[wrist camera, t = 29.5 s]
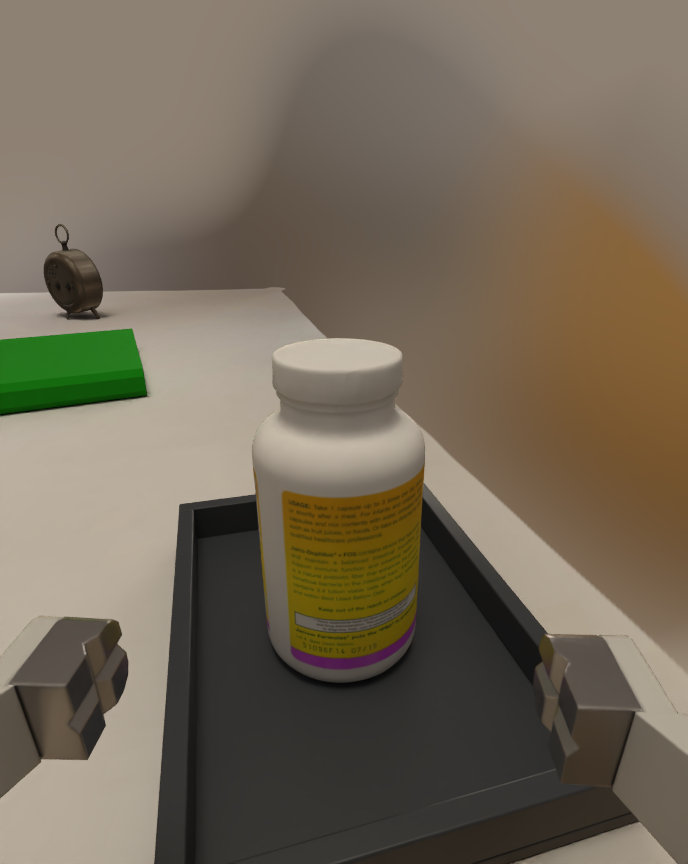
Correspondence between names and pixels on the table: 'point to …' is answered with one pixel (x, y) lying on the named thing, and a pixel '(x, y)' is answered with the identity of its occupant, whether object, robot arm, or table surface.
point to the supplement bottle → (339, 509)
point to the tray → (357, 722)
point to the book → (69, 370)
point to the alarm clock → (73, 279)
